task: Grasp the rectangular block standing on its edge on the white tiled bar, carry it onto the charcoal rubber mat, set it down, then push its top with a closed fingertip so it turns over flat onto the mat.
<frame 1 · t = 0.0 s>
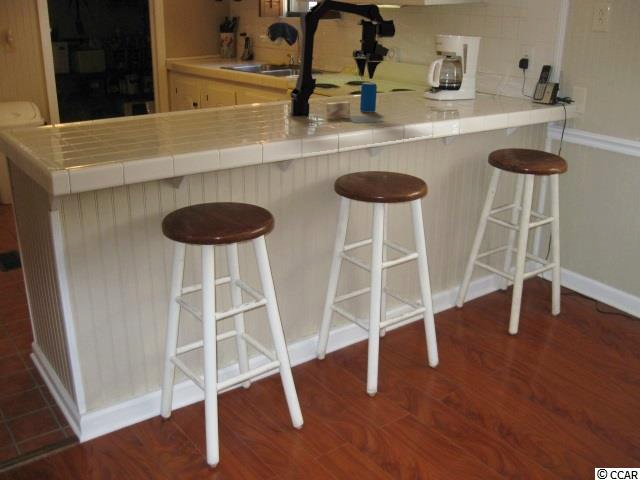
hand: (366, 77, 258), 15 cm above the worktop, fingers open, 9 cm apart
beverage can: (367, 112, 267), on the worktop
mat: (363, 119, 249), on the worktop
rectangular block: (338, 118, 250), on the worktop, touching mat
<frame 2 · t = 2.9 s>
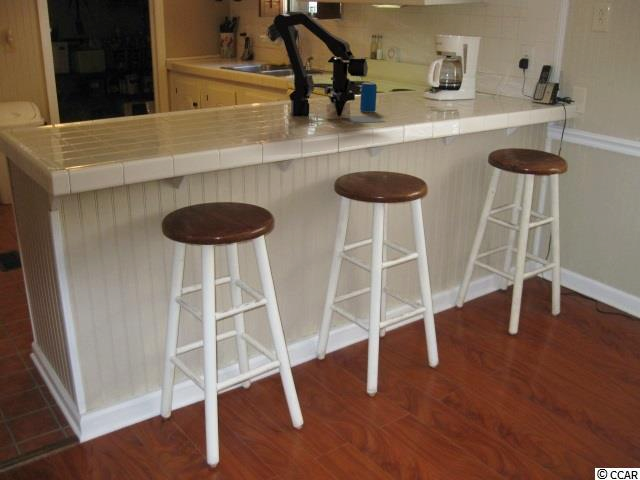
hand: (338, 115, 249), 1 cm above the worktop, fingers closed on rectangular block, 2 cm apart
rectangular block: (338, 118, 250), on the worktop, touching gripper, mat
everything else where it was.
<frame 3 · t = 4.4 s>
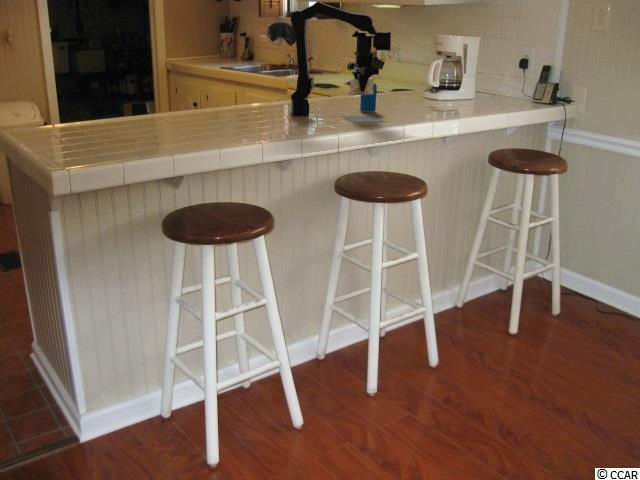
hand: (361, 91, 248), 11 cm above the worktop, fingers closed on rectangular block
rectangular block: (361, 94, 248), point 9 cm above the worktop, touching gripper
everything else where it was.
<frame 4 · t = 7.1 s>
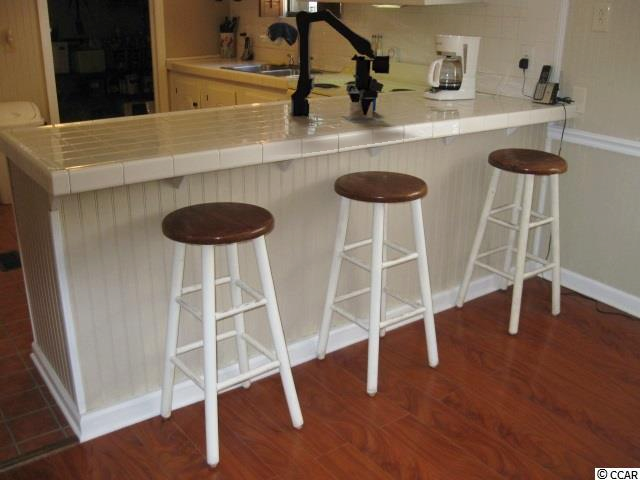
hand: (360, 113, 251), 2 cm above the worktop, fingers open, 9 cm apart
rectangular block: (360, 117, 252), resting on mat
everything else where it was.
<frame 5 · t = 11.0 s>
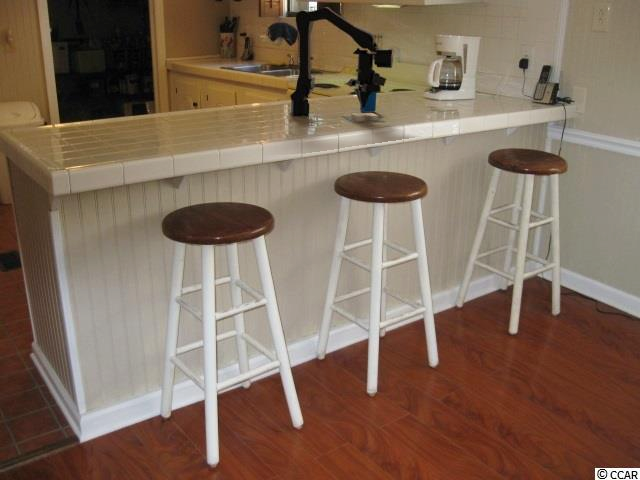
hand: (363, 107, 248), 5 cm above the worktop, fingers closed
rectangular block: (361, 115, 250), point 1 cm above the worktop, tilted 90°, touching mat
everything else where it was.
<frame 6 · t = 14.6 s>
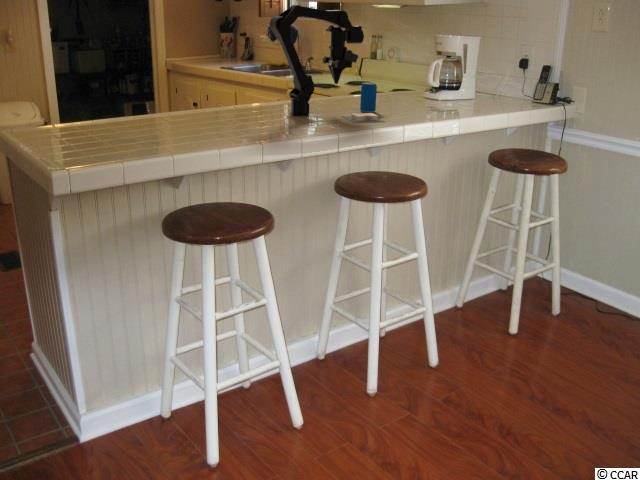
hand: (336, 83, 257), 12 cm above the worktop, fingers closed
nothing on the worktop moved.
at the end: rectangular block tilted 90°; rectangular block inside the target area on the mat (2.1 cm from its centre), point 1.3 cm above the mat's base; the gripper is holding nothing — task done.
